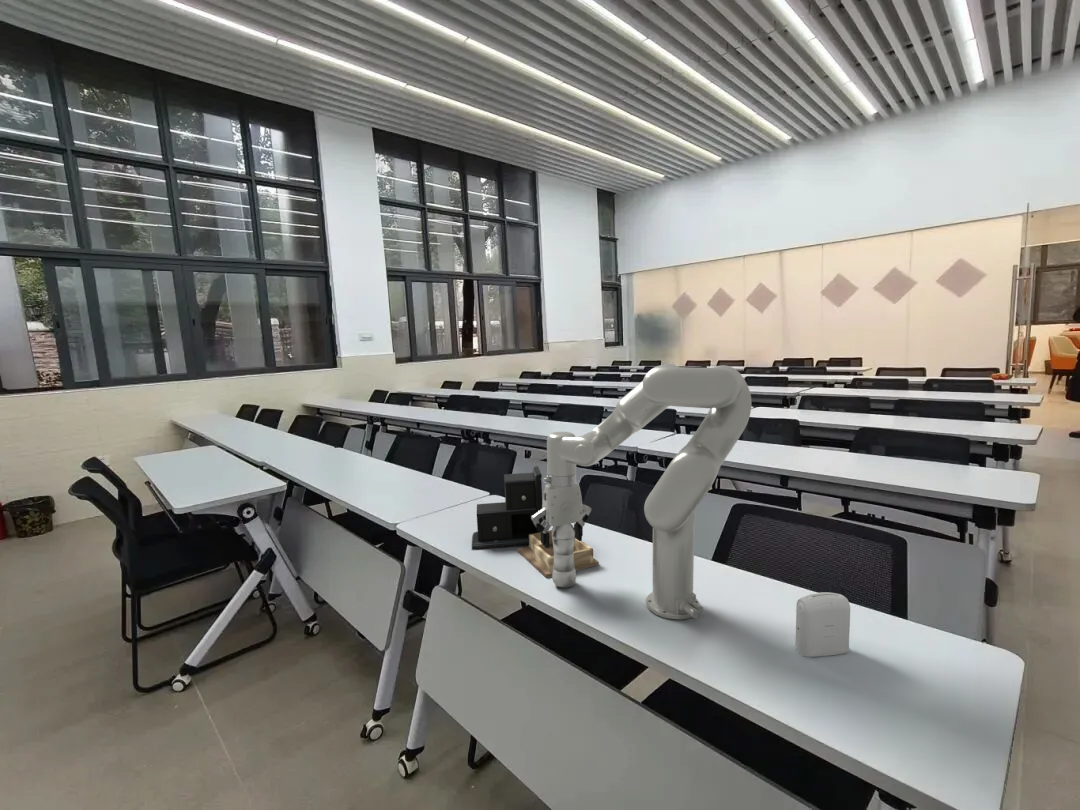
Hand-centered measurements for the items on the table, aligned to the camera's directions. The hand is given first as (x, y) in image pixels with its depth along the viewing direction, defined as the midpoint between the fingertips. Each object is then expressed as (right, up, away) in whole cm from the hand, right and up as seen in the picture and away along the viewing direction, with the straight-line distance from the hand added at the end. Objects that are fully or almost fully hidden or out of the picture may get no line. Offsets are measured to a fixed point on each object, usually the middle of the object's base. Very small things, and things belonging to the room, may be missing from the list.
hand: (561, 542), depth 133 cm
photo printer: (+52, -14, -30) cm, 62 cm away
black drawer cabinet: (-16, -9, +32) cm, 37 cm away
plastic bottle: (+1, -12, +1) cm, 12 cm away
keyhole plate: (-1, -10, +18) cm, 21 cm away
